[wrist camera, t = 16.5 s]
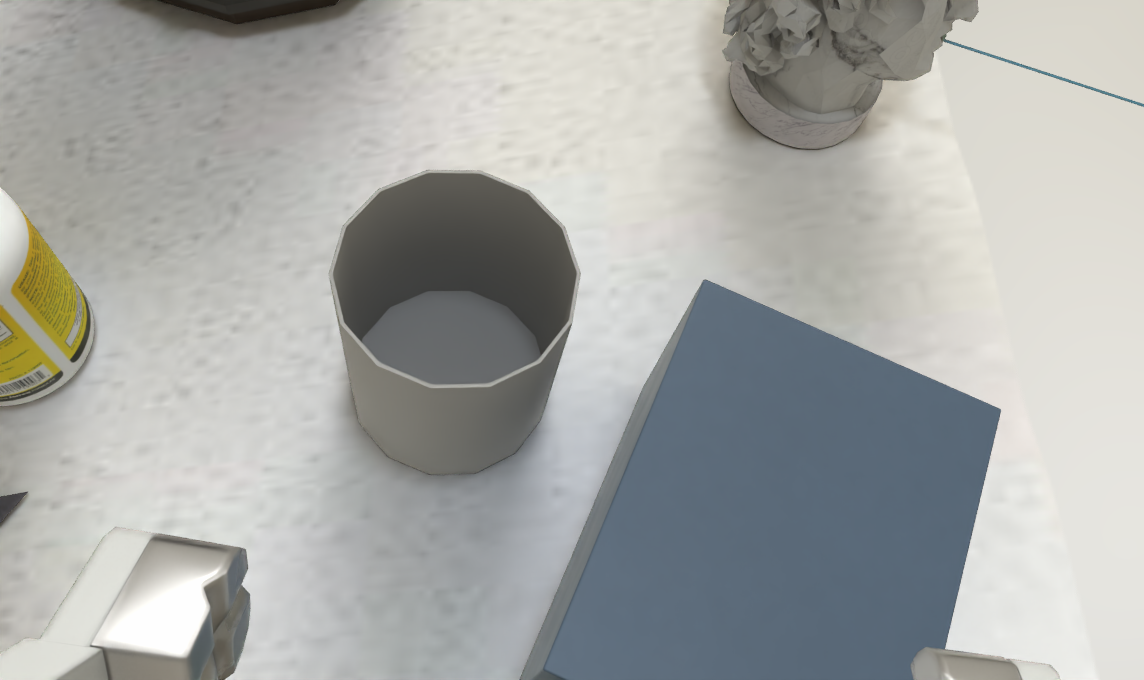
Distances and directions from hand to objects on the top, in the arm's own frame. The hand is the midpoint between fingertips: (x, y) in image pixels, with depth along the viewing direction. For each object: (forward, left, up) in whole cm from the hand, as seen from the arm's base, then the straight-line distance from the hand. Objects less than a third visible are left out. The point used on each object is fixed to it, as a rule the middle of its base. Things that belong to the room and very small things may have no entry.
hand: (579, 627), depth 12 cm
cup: (+7, +12, -28) cm, 31 cm away
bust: (+35, +9, -28) cm, 46 cm away
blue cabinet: (+11, -1, -27) cm, 29 cm away
